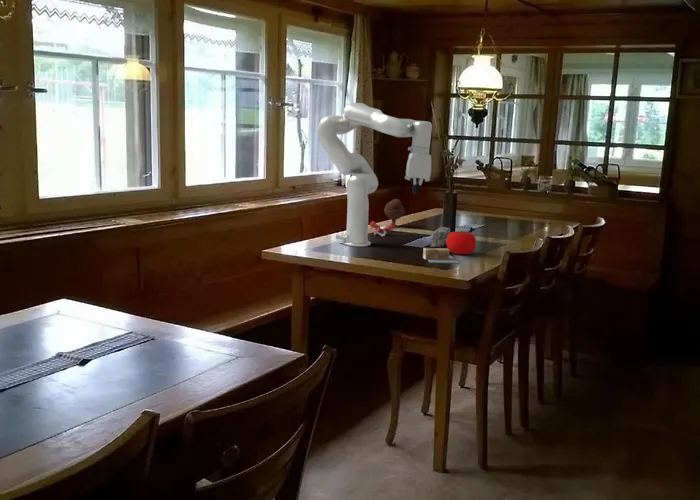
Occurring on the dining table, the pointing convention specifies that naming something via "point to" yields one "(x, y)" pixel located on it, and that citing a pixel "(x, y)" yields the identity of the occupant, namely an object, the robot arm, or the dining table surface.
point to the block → (436, 253)
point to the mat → (451, 260)
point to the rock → (440, 237)
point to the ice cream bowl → (394, 210)
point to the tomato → (461, 242)
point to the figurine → (381, 228)
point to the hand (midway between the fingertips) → (415, 193)
